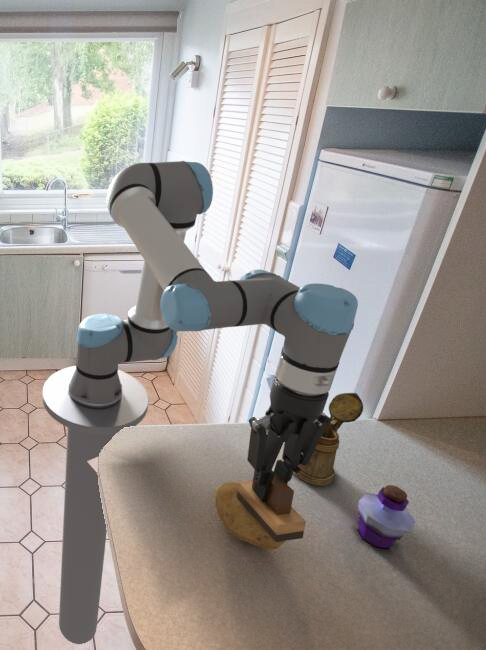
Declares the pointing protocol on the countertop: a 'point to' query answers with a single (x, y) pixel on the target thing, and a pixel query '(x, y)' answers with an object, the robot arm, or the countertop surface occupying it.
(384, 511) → the potion bottle
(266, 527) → the brush
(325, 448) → the wooden mug
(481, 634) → the countertop surface
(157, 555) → the countertop surface
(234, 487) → the potato
